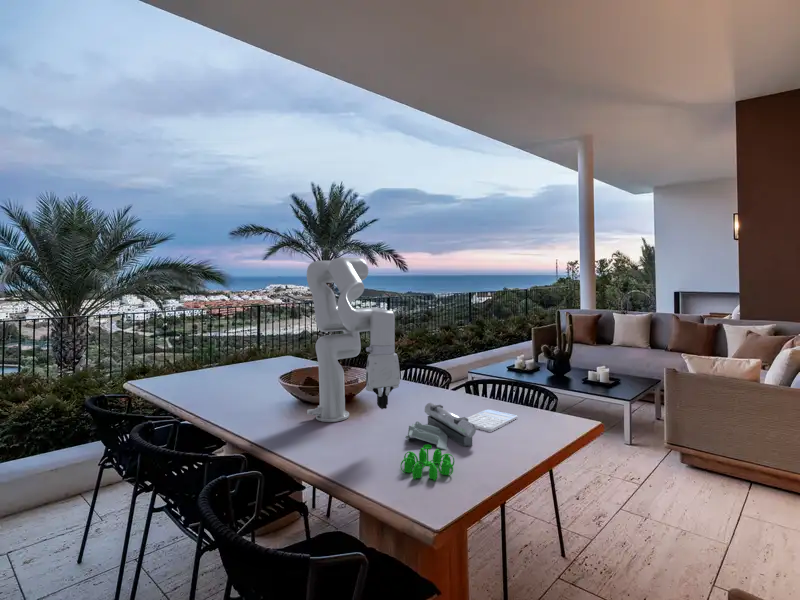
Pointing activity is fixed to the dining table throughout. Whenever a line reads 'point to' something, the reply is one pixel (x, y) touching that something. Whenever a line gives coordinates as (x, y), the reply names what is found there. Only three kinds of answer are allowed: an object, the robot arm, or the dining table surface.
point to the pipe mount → (450, 424)
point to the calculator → (491, 419)
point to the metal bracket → (428, 434)
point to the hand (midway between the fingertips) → (382, 407)
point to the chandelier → (427, 463)
